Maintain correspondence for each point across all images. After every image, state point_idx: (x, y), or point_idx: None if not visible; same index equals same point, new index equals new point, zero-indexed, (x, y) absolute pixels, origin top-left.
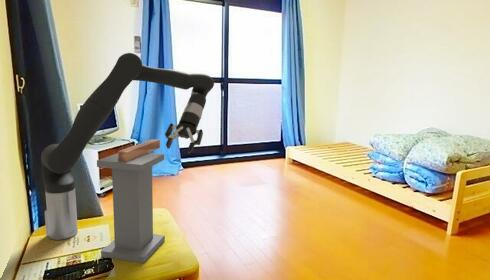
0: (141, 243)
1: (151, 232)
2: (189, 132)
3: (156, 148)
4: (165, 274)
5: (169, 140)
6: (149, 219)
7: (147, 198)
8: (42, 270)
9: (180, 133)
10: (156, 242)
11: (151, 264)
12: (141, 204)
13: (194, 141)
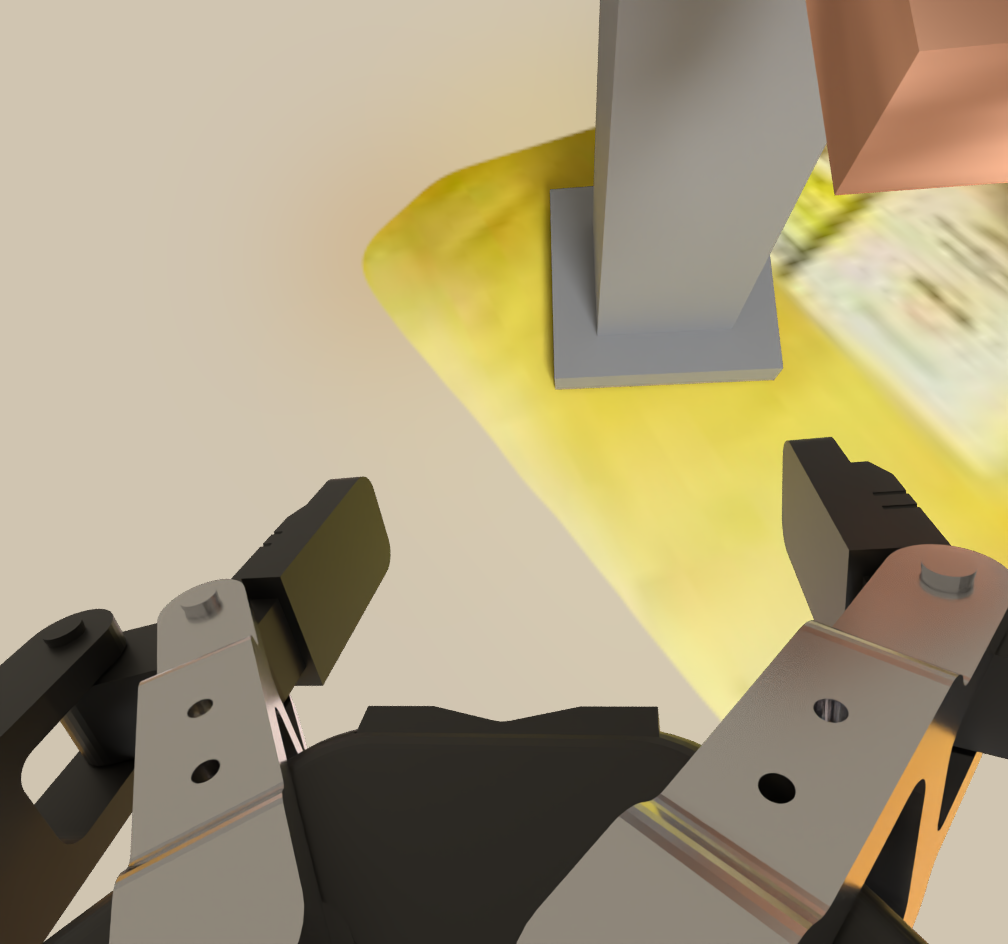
0: (593, 216)
1: (597, 302)
2: (202, 784)
3: (820, 61)
4: (439, 180)
5: (861, 507)
6: (599, 235)
7: (604, 110)
8: None
9: (626, 753)
10: (559, 305)
11: (520, 215)
12: (600, 52)
13: (166, 621)
